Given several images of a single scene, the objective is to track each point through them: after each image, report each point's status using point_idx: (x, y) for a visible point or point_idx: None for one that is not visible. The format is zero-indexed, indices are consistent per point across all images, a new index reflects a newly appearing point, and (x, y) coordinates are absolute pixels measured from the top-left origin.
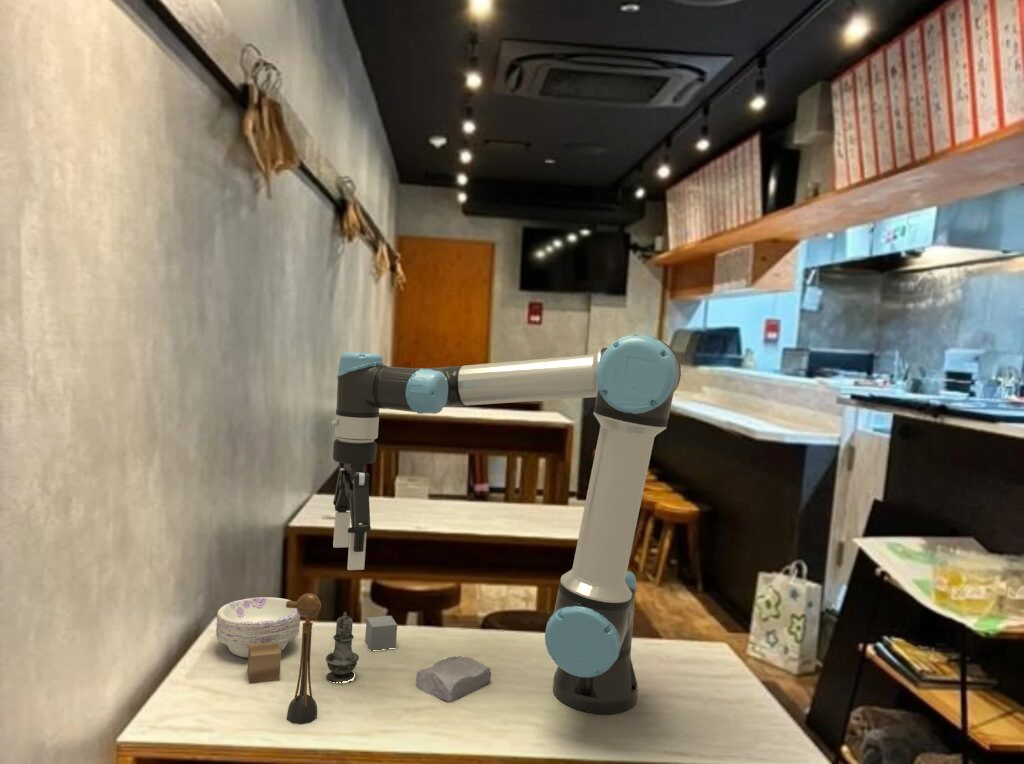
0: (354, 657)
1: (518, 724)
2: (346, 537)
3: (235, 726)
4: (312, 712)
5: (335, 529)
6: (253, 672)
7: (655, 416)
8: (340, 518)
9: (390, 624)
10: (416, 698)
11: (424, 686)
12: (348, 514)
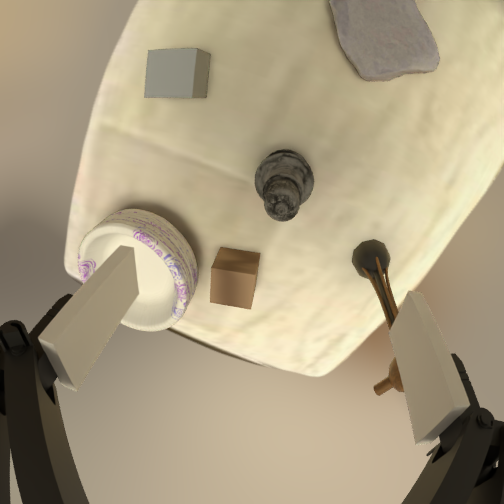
0: (298, 165)
1: (498, 40)
2: (116, 277)
3: (350, 317)
4: (388, 255)
5: (109, 338)
6: (254, 290)
7: None
8: (83, 359)
9: (190, 60)
10: (399, 100)
11: (388, 78)
12: (61, 345)
